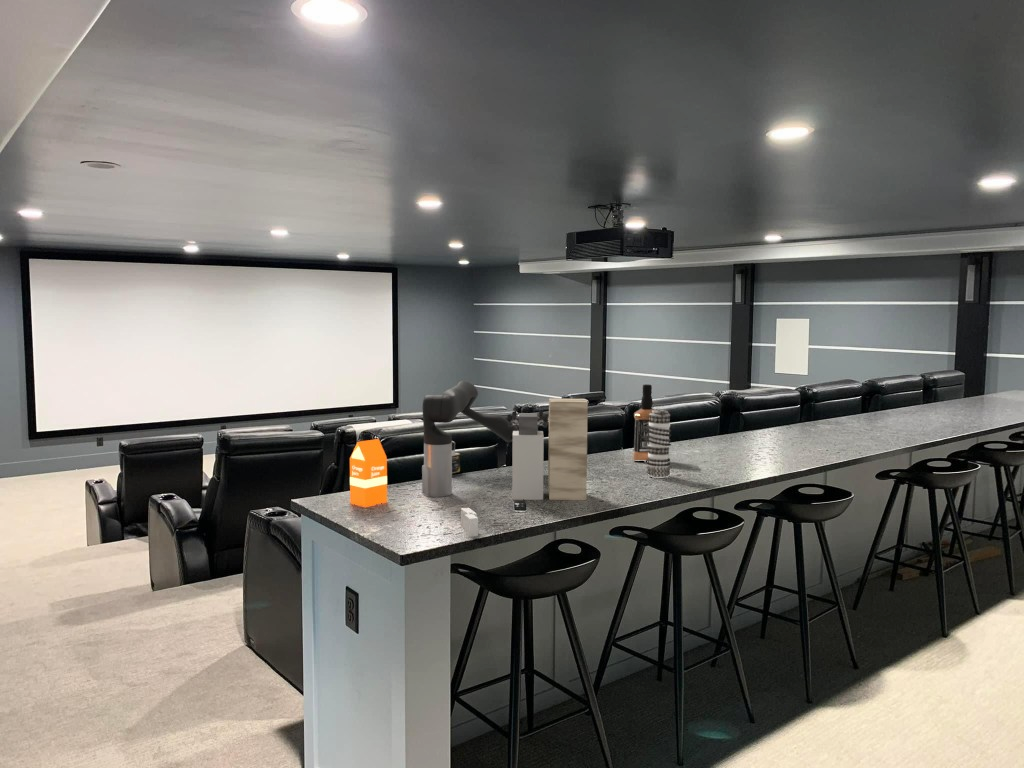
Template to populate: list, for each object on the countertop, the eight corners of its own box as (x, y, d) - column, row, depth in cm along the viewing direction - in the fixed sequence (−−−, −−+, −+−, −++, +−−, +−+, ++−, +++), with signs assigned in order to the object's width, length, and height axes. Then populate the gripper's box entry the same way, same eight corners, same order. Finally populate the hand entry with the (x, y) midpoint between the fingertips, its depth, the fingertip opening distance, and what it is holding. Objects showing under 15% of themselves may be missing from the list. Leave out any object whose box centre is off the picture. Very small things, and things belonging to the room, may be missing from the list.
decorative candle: (642, 474, 279) (643, 409, 277) (666, 473, 280) (667, 408, 278) (649, 479, 270) (650, 411, 268) (673, 478, 271) (675, 411, 269)
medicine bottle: (447, 474, 277) (447, 443, 276) (433, 472, 281) (433, 441, 280) (460, 471, 282) (460, 440, 281) (446, 469, 287) (446, 439, 286)
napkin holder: (458, 524, 209) (458, 504, 209) (496, 527, 206) (496, 507, 206) (437, 538, 195) (437, 517, 195) (478, 542, 192) (478, 520, 191)
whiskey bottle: (656, 458, 312) (658, 383, 310) (659, 462, 303) (660, 385, 300) (632, 457, 314) (633, 383, 311) (633, 462, 304) (635, 385, 301)
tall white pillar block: (512, 492, 247) (512, 430, 245) (542, 492, 247) (542, 431, 245) (512, 499, 237) (512, 435, 235) (543, 499, 237) (543, 435, 235)
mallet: (519, 426, 256) (519, 409, 255) (536, 426, 255) (536, 409, 255) (518, 434, 237) (518, 416, 236) (537, 434, 237) (537, 416, 236)
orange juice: (349, 503, 231) (349, 440, 230) (371, 498, 238) (371, 437, 236) (365, 507, 226) (364, 443, 224) (387, 502, 233) (387, 440, 231)
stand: (548, 492, 247) (548, 398, 244) (583, 493, 247) (584, 398, 244) (549, 499, 237) (550, 401, 234) (586, 500, 237) (587, 401, 234)
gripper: (508, 420, 268) (507, 402, 253) (546, 420, 268) (548, 402, 253) (507, 439, 265) (507, 422, 250) (547, 440, 264) (548, 423, 250)
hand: (527, 412), depth 252 cm, fingers open, 8 cm apart
